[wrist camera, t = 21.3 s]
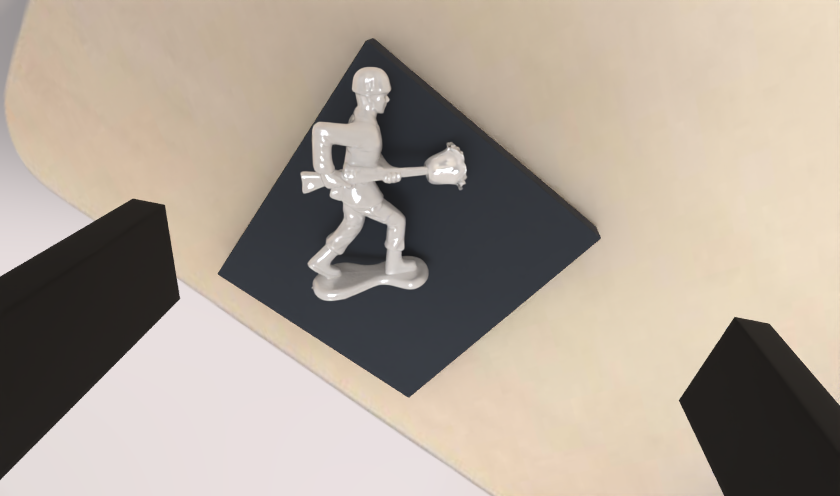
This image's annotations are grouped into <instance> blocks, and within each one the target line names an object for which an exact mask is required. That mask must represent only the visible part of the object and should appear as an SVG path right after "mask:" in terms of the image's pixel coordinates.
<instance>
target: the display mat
mask: <svg viewBox="0 0 840 496" xmlns="http://www.w3.org/2000/svg"><path fill="white" fill-rule="evenodd" d="M364 67H377V68H380V69H382V70H383V71H385V73H386V74H387V76H388V77H389V81H390V85H391V91H390V92H389V93H388V94H387V96H388V98H389V102H387V105H386V107H385V109H384V113H381V114H380V113H378V114H377V117H376V119H377V123H378V125H379V127H380V132H381V136H382V144H383V145H382V151H381V154H382V155H383V157H384V159H385V160H386V161H387V162H388V164H389V165H391V166H393V167H398V168H404V167H424V163H425V161H426V160H427V159H428V158H429V157H431V156H433V155H435V154H437V153H439V152H441V151H443V150H444V149H446V148H447V143H450V142H452V143H454V145H456V147H459V148H460V151H462V152H463V156H464V163H465V165H466V176H467V178H466V179H465V180H464V181H465V183H466V184H464V185H462V188H463V189H462V190H459V188H458V186H457V185H454V184H441V185H435V184H431V183H430V182H429V181H428V180H427V178H426V175H419V176H410V177H402V178H401V180H400V181H399V182H396V183H390V184H389V183H385V182H383V181H382V180H379V181H375V182H376V184H377V185H378V187H379V189H380V191H381V192H382V194H383V196H384V197H383V198H384V199H385V200H387V201H388V202H390V203H391V204H392V205H394V206H395V207H396V208H397V209H399V210H400V211H401V212H402V213H403V214H404V216H405V218H406V228H405V238H404V244H405V248H404V250H402V256H414V257H418V258H420V259H422V260H423V261H424V262H425V263H426V265H427V267H428V270H429V275H428V279H427V281H426V282H425V283H424V284H423V285H422V286H420V287H418V288H416V289H404V288H400V287H396V286H392V285H377V286H374V287H372V288H369V289H367V290H365V291H363V292H360V293H359V294H356V295H353V296H351V297H348V298H346V299H341V300H335V301H326V300H322V299H320V298H319V297H317V295H316V294H315V293H314V290H313V288H312V287H313V280H314V278H315V277H316V276H317V275H318V274H319V273H317V272H315V271H313V270H312V269H311V268H310V267H309V266H308V262H309V260H310V259H311V258H312V257H313V256H314V255H316V254H317V253H318V252H319V251H320V250H321V249H322V248H323V247H324V246H325V244H326V238H327V236H328V235H330V234H331V233H332V232H334V231H335V230H336V229H337V228H338V227H339V225H340V224H341V222H342V221H343V218H344V212H343V202H342V201H339V200H335V199H333V198H331V197H330V196H329V195H330V191H331V189H328V188H326V187H325V186H324V187H321V188H319V189H316V190H314V191H312V192H309V193H303V191H302V179H301V172H303V171H309V172H316V171H315V170H314V167H313V151H312V129H313V126H314V125H315V124H316V123H317V122H331V123H342V124H348V122H349V119H350V117H351V115H352V114H353V112H354V110H355V108H356V107H357V106H358V104H357V99H356V94H355V92H353V90H352V84H353V77H354V75H355V73H356V72H357V71H358V70H359V69H361V68H364ZM345 154H346V146H342V145H332V161H333V165H334V166H335V170H340V169H343V165H344V162H345ZM386 234H387V225H386V224H383V223H380V222H378V221H376V220H373V219H371V218H369V217H365V222H364V225H363V227H362V229H361V231H360V232H359V234H358V235H357V236H356V237H355V239H354V240H353V241H352V242H351V243H350V244H349V245H348V246H347V248H346V249H345V251H344V253H343V254H341V255H337V256H336V257H335V258H334V259H333V260H332V261H331V263H330V264H332V265H335V264H338V263H343V262H347V263H356V264H361V265H374V264H378V263H381V262H385V261H386V254H387V248H386V247H385V245H384V243H385V240H386ZM600 239H601V237H600V235H599V232H598V230H597V228H596V226H594V225H593V224H592V223H591V222H590V221H589V220H587V219H586V218H585V217H584V216H583V215H581V214H580V213H579V212H578V211H577V210H576V209H574V208H573V207H572V206H571V205H570V204H568V203H567V202H566V201H565V200H564V199H563V198H561V197H560V196H559V195H558V194H557V193H556V192H554V191H553V190H552V189H551V188H550V187H548V186H547V185H546V184H545V183H544V182H543V181H541V180H540V179H539V178H538V177H537V176H535V175H534V174H533V173H532V172H531V171H530V170H528V169H527V168H526V167H525V166H524V165H522V164H521V163H520V162H519V161H518V160H517V159H515V158H514V157H513V156H512V155H511V154H509V153H508V152H507V151H506V150H505V149H504V148H502V147H501V146H500V145H499V144H498V143H496V142H495V141H494V140H493V139H492V138H491V137H489V136H488V135H487V134H486V133H485V132H483V131H482V130H481V129H480V128H479V127H478V126H476V125H475V124H474V123H473V122H472V121H471V120H469V119H468V118H467V117H466V116H465V115H463V114H462V113H461V112H460V111H459V110H458V109H456V108H455V107H454V106H453V105H452V104H450V103H449V102H448V101H447V100H446V99H445V98H443V97H442V96H441V95H440V94H439V93H437V92H436V91H435V90H434V89H433V88H432V87H430V86H429V85H428V84H427V83H426V82H424V81H423V80H422V79H421V78H420V77H419V76H417V75H416V74H415V73H414V72H413V71H411V70H410V69H409V68H408V67H407V66H406V65H404V64H403V63H402V62H401V61H400V60H399V59H397V58H396V57H395V56H394V55H393V54H391V53H390V52H389V51H388V50H387V49H386V48H384V47H383V46H382V45H381V44H380V43H378V42H377V41H376V40H375V39H373V38H372V39H370V40H367V41H366V42H365V43H364V45H363V46H362V48H361V50H360V51H359V53H358V54H357V56H356V57H355V59H354V61H353V62H352V64H351V65H350V67H349V68H348V70H347V71H346V73H345V75H344V76H343V78H342V79H341V81H340V82H339V84H338V86H337V87H336V89H335V90H334V92H333V93H332V95H331V97H330V98H329V100H328V101H327V103H326V104H325V106H324V108H323V109H322V111H321V112H320V114H319V115H318V117H317V119H316V120H315V122H314V123H313V125H312V126H311V128H310V130H309V131H308V133H307V134H306V136H305V137H304V139H303V141H302V142H301V144H300V145H299V147H298V148H297V150H296V152H295V153H294V155H293V156H292V158H291V159H290V161H289V163H288V164H287V166H286V167H285V169H284V170H283V172H282V173H281V175H280V177H279V178H278V180H277V181H276V183H275V184H274V186H273V188H272V189H271V191H270V192H269V194H268V195H267V197H266V199H265V200H264V202H263V203H262V205H261V206H260V208H259V210H258V211H257V213H256V214H255V216H254V217H253V219H252V221H251V222H250V224H249V225H248V227H247V228H246V230H245V232H244V233H243V235H242V236H241V238H240V239H239V241H238V243H237V244H236V246H235V247H234V249H233V250H232V252H231V254H230V255H229V257H228V258H227V260H226V261H225V263H224V265H223V266H222V268H221V269H220V271H219V272H218V275H220V276H221V277H223V278H224V279H226V280H228V281H229V282H231V283H232V284H234V285H235V286H237V287H238V288H240V289H241V290H243V291H245V292H246V293H248V294H249V295H251V296H252V297H254V298H255V299H257V300H258V301H260V302H262V303H263V304H265V305H266V306H268V307H269V308H271V309H272V310H274V311H275V312H277V313H279V314H280V315H282V316H283V317H285V318H286V319H288V320H289V321H291V322H292V323H294V324H296V325H297V326H299V327H300V328H302V329H303V330H305V331H306V332H308V333H309V334H311V335H313V336H314V337H316V338H317V339H319V340H320V341H322V342H323V343H325V344H326V345H328V346H330V347H331V348H333V349H334V350H336V351H337V352H339V353H340V354H342V355H343V356H345V357H346V358H348V359H350V360H351V361H353V362H354V363H356V364H357V365H359V366H360V367H362V368H363V369H365V370H367V371H368V372H370V373H371V374H373V375H374V376H376V377H377V378H379V379H380V380H382V381H384V382H385V383H387V384H388V385H390V386H391V387H393V388H394V389H396V390H397V391H399V392H401V393H402V394H404V395H405V396H407V397H410V396H411V395H413V394H414V393H415V392H416V391H417V390H419V389H420V388H421V387H422V386H423V385H425V384H426V383H427V382H428V381H429V380H431V379H432V378H433V377H434V376H435V375H437V374H438V373H439V372H440V371H441V370H443V369H444V368H445V367H446V366H448V365H449V364H450V363H451V362H452V361H454V360H455V359H456V358H457V357H458V356H460V355H461V354H462V353H463V352H464V351H466V350H467V349H468V348H469V347H470V346H472V345H473V344H474V343H475V342H476V341H478V340H479V339H480V338H481V337H483V336H484V335H485V334H486V333H487V332H489V331H490V330H491V329H492V328H493V327H495V326H496V325H497V324H498V323H499V322H501V321H502V320H503V319H504V318H505V317H507V316H508V315H509V314H510V313H511V312H513V311H514V310H515V309H516V308H517V307H519V306H520V305H521V304H522V303H524V302H525V301H526V300H527V299H528V298H530V297H531V296H532V295H533V294H534V293H536V292H537V291H538V290H539V289H540V288H542V287H543V286H544V285H545V284H546V283H548V282H549V281H550V280H551V279H552V278H554V277H555V276H556V275H557V274H559V273H560V272H561V271H562V270H563V269H565V268H566V267H567V266H568V265H569V264H571V263H572V262H573V261H574V260H575V259H577V258H578V257H579V256H580V255H581V254H583V253H584V252H585V251H586V250H587V249H589V248H590V247H591V246H592V245H593V244H595V243H596V242H597V241H598V240H600Z"/></svg>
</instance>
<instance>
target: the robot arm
mask: <svg viewBox="0 0 840 496" xmlns="http://www.w3.org/2000/svg"><path fill="white" fill-rule="evenodd" d="M179 299H180V296H179V290H178V284H177V278H176V271H175V265H174V259H173V253H172V247H171V240H170V234H169V228H168V222H167V216H166V209H165V205H163V204H158V203H152V202H147V201H142V200H137V199H132V200H130V201H128V202H126V203H125V204H123V205H121V206H120V207H118V208H116V209H114V210H113V211H111V212H109V213H108V214H106V215H104V216H103V217H101V218H99V219H97V220H96V221H94V222H92V223H91V224H89V225H87V226H86V227H84V228H82V229H80V230H79V231H77V232H75V233H74V234H72V235H70V236H69V237H67V238H65V239H64V240H62V241H60V242H58V243H57V244H55V245H53V246H51V247H50V248H48V249H46V250H45V251H43V252H41V253H40V254H38V255H36V256H34V257H33V258H31V259H29V260H28V261H26V262H24V263H23V264H21V265H19V266H17V267H16V268H14V269H12V270H11V271H9V272H7V273H6V274H4V275H2V276H1V277H0V480H1V479H2V477H3V476H5V474H7V473H8V472H9V471H10V469H12V467H13V466H14V465H15V464H16V463H17V462H18V461H19V460H20V459H21V458H22V457H23V456H24V455H25V454H26V453H27V452H28V451H29V450H30V449H31V448H32V447H33V446H34V445H35V444H36V443H37V442H38V441H39V440H40V439H41V438H42V437H43V436H44V435H45V434H46V433H47V432H48V431H49V430H50V429H51V428H52V427H53V426H54V425H55V424H56V423H57V422H58V421H59V420H60V419H61V418H62V417H63V416H64V415H65V414H66V413H67V412H68V411H69V410H70V409H71V408H72V407H73V406H74V405H75V404H76V403H77V402H78V401H79V400H80V399H81V398H82V397H83V396H84V395H85V394H86V393H87V392H88V391H89V390H90V389H91V388H92V387H93V386H94V385H95V384H96V383H97V382H98V381H99V380H100V379H101V378H102V377H103V376H104V375H105V374H106V373H107V372H108V371H109V370H110V369H111V368H112V367H113V366H114V365H115V364H116V363H117V362H118V361H119V360H120V359H121V358H122V357H123V356H124V355H125V354H126V353H127V351H129V350H130V349H131V348H132V347H133V346H134V345H135V344H136V343H137V342H138V341H139V340H140V339H141V338H142V337H143V336H144V334H145V333H147V331H149V329H151V328H152V326H153V325H155V323H157V322H158V320H160V318H161V317H162V316H163V315H164V314H165V313H166V312H167V311H168V310H169V309H170V308H171V307H172V306H173V305H174V304H175V303H176V302H177V301H178V300H179ZM679 402H680V404H681V406H682V408H683V410H684V412H685V414H686V416H687V418H688V420H689V423H690V425H691V427H692V429H693V431H694V433H695V435H696V437H697V439H698V442H699V444H700V446H701V448H702V450H703V452H704V454H705V456H706V458H707V460H708V463H709V465H710V467H711V469H712V471H713V473H714V475H715V477H716V479H717V481H718V484H719V486H720V488H721V490H722V492H723V494H724V496H840V405H839V404H838V403H837V402H836V401H835V400H834V398H833V397H832V396H831V395H830V394H829V393H828V391H827V390H826V389H825V388H824V387H823V386H822V384H821V383H820V382H819V381H818V380H817V379H816V377H815V376H814V375H813V374H812V373H811V372H810V370H809V369H808V368H807V367H806V366H805V365H804V363H803V362H802V361H801V360H800V359H799V358H798V357H797V355H796V354H795V353H794V352H793V351H792V350H791V348H790V347H789V346H788V345H787V344H786V343H785V341H784V340H783V339H782V338H781V337H780V336H779V334H778V333H777V332H776V331H775V330H774V329H773V327H772V326H771V325H770V324H768V323H763V322H758V321H753V320H747V319H742V318H737V317H734V319H733V320H732V322H731V323H730V325H729V326H728V328H727V329H726V331H725V332H724V334H723V335H722V337H721V338H720V340H719V341H718V343H717V344H716V346H715V347H714V349H713V350H712V352H711V353H710V355H709V356H708V358H707V359H706V361H705V362H704V364H703V365H702V367H701V368H700V370H699V371H698V373H697V374H696V376H695V377H694V379H693V380H692V382H691V383H690V385H689V386H688V388H687V389H686V391H685V392H684V394H683V395H682V397H681V398H680V400H679Z"/></svg>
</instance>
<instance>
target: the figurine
mask: <svg viewBox="0 0 840 496" xmlns="http://www.w3.org/2000/svg"><path fill="white" fill-rule="evenodd" d="M352 90H353V92H355V94H356V99H357V104H358V106H357V107H356V108H355V110H354V112H353V114H352V115H351V117H350V119H349V122H348V124H342V123H331V122H317V123H316V124H315V125H314V126H313V129H312V151H313V167H314V170H315V171H316V172H309V171H303V172H301V179H302V191H303V193H309V192H312V191H314V190H316V189H319V188H321V187H324V186H325V187H326V188H328V189H331V191H330V195H329V196H330V197H331V198H333V199H335V200H339V201H342V202H343V212H344V218H343V221H342V222H341V224H340V225H339V227H338V228H337V229H336V230H335V231H334V232H332V233H331V234H330V235H328V236H327V238H326V244H325V246H324V247H323V248H322V249H321V250H320V251H319V252H318V253H317V254H316V255H314V256H313V257H312V258H311V259H310V260H309V262H308V266H309V267H310V268H311V269H312V270H313V271H315V272H317V273H319V274H318V275H317V276H316V277H315V278H314V280H313V287H312V288H313V290H314V293H315V294H316V295H317V297H319V298H320V299H322V300H326V301H335V300H341V299H346V298H348V297H351V296H353V295H356V294H359V293H360V292H363V291H365V290H367V289H369V288H372V287H374V286H377V285H392V286H396V287H400V288H404V289H416V288H418V287H420V286H422V285H423V284H424V283H425V282H426V281H427V279H428V275H429V270H428V267H427V265H426V263H425V262H424V261H423V260H422V259H420V258H418V257H414V256H402V250H404V248H405V244H404V238H405V228H406V218H405V216H404V214H403V213H402V212H401V211H400V210H399V209H397V208H396V207H395V206H394V205H392V204H391V203H390V202H388V201H387V200H385V199H384V198H383V197H384V196H383V194H382V192H381V191H380V189H379V187H378V185H377V184H376V182H375V181H379V180H382V181H383V182H385V183H389V184H390V183H396V182H399V181H400V180H401V178H402V177H410V176H419V175H426V178H427V180H428V181H429V182H430V183H431V184H435V185H441V184H454V185H457V186H458V188H459V190H462V189H463V188H462V185H464V184H466V183H465V181H464V180H465V179H466V178H467V176H466V165H465V163H464V156H463V152H462V151H460V148H459V147H456V145H454V143H452V142H450V143H447V148H446V149H444V150H443V151H441V152H439V153H437V154H435V155H433V156H431V157H429V158H428V159H427V160H426V161H425V163H424V167H404V168H398V167H393V166H391V165H389V164H388V162H387V161H386V160H385V159H384V157H383V155H382V154H381V151H382V145H383V144H382V136H381V132H380V127H379V125H378V123H377V119H376V117H377V114H378V113H380V114H381V113H384V109H385V107H386V105H387V102H389V98H388V96H387V94H388V93H389V92H390V91H391V85H390V81H389V77H388V76H387V74H386V73H385V71H383V70H382V69H380V68H377V67H364V68H361V69H359V70H358V71H357V72H356V73H355V75H354V77H353V84H352ZM332 145H342V146H346V154H345V162H344V165H343V169H340V170H335V166H334V165H333V161H332ZM365 217H369V218H371V219H373V220H376V221H378V222H380V223H383V224H386V225H387V234H386V240H385V243H384V245H385V247H386V248H387V254H386V261H385V262H381V263H378V264H374V265H361V264H356V263H347V262H343V263H338V264H335V265H332V264H330V263H331V261H332V260H333V259H334V258H335V257H336V256H337V255H341V254H343V253H344V251H345V249H346V248H347V246H348V245H349V244H350V243H351V242H352V241H353V240H354V239H355V237H356V236H357V235H358V234H359V232H360V231H361V229H362V227H363V225H364V222H365Z"/></svg>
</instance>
